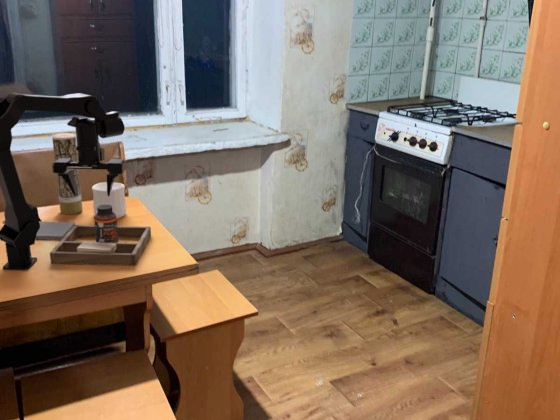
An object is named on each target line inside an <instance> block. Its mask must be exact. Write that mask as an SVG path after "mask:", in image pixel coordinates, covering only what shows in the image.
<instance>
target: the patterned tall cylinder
mask: <svg viewBox="0 0 560 420" xmlns="http://www.w3.org/2000/svg"><path fill="white" fill-rule="evenodd" d="M52 146H53V147H52V148H53V155H54V157H53V158H54V162H55V161H57V160H58V159H59V158H72V160H73V162H78V151H76V147H77V140H76V133H71V132H60V133H55V134H52ZM55 174H56V175H55V176H56V184H57V192H58V195H57V196H58V203H59V210H60V213H61V214H63V215H75V214H79V213H81V212H82V210H83V203H82V202H83V201H82V189H81V179H80V177H81V176H80V169H74V177H75V183H76V189H77V195H76V196H74V194H73V193H72V191H71V189H70V187H69V186H68V184H67V183H66V181H65V180H64V179H63V178H62V176H58V173H55Z"/></svg>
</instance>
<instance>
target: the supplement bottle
mask: <svg viewBox="0 0 560 420" xmlns="http://www.w3.org/2000/svg"><path fill="white" fill-rule="evenodd" d="M97 211H98V212H97V213H96V214H94V217H93V219H94V220H93V221H94V225H95V234H96V236H95V242H119V237H118V234H117V226H118V221H117V219H118V218H117V219H116V214H115V213H114V212H112V206H111V205H107V204H104V205H99V206H98V207H97Z"/></svg>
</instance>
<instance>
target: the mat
mask: <svg viewBox="0 0 560 420" xmlns="http://www.w3.org/2000/svg"><path fill="white" fill-rule="evenodd" d="M39 223H40V229H39V230H38V232H37V235H36V239H35V240H60V241H61V240H62V239H63V238H64V236H65V235H66V234H67V233H68V232H69V231H70V230H71V229H72V228H73V226H74V225H76V224H75V223H76V222H74V221H73V222H72V221H71V222H70V221H69V222H68V221H41V222H40V221H39Z"/></svg>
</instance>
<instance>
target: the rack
mask: <svg viewBox="0 0 560 420" xmlns="http://www.w3.org/2000/svg"><path fill="white" fill-rule="evenodd" d="M151 229H152V228H151V226H139V225H138V226H135V225H134V226H133V225H131V226H130V225H129V226H127V225H117V234H118V238H140V239H139V240H138V241H137V242H123V241H122V242H119V241H118V242H98V243H114V244H116V250H115V253H94V252H77V247H78V246H79V245H80V244H81V243H82V242H83V241H75V240H76V239H77V238H78V237H96V234H95V224H94V225H93V224H92V225H91V224H89V225H87V224H86V225H85V224H75V225H74V226H73V228H72V229H71V230H70V231H69V232H68V233H67V234H66V235H65V236H64V238H63V239H62V240H60V241H59V242H58V243H57V244H55V246H54V248H52V250H51V251H50V252H49V258H50V260H49V261H50V264H51V265H52V264H53V265H56V264H57V265H92V266H93V265H95V266H97V265H98V266H134V267H135V266H137V264H138V262H139V260H140V258H141V256H142V254H143V252H144V251H145V248H146V246H147V245H148V243H149V241H150V239H151V238H152V230H151Z"/></svg>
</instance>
